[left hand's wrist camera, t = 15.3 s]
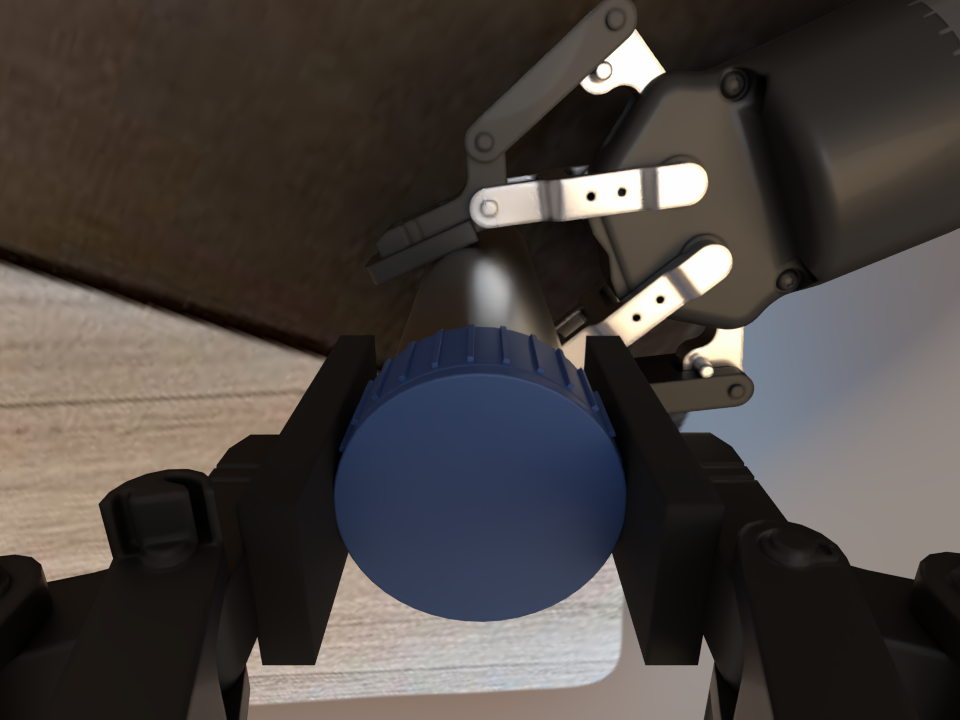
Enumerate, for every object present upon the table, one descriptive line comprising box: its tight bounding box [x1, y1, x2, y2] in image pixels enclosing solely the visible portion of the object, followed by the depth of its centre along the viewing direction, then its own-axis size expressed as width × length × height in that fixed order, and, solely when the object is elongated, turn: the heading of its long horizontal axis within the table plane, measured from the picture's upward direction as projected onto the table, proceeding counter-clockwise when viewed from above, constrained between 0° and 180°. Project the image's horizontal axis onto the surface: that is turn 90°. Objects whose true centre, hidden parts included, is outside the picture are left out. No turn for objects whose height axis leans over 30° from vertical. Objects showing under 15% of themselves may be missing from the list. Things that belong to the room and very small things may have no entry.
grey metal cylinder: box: [395, 225, 563, 357], centre depth 19 cm, size 4×4×18 cm
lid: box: [334, 324, 627, 622], centre depth 11 cm, size 5×5×2 cm
